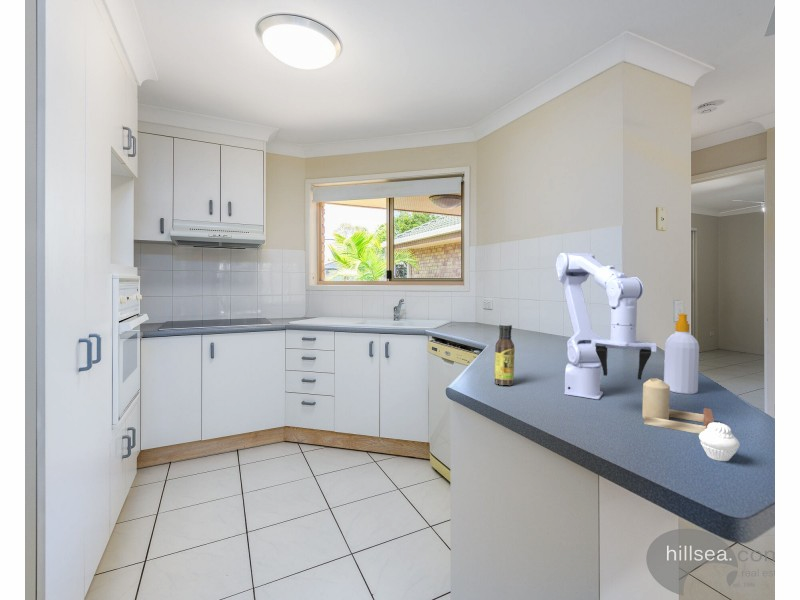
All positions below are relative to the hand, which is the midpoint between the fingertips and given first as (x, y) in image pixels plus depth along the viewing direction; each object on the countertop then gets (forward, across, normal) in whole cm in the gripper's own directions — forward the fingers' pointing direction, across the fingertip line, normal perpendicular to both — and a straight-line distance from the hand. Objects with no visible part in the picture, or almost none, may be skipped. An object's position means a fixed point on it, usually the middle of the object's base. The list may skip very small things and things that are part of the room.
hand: (622, 376), depth 102 cm
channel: (+9, +12, -2) cm, 15 cm away
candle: (+10, +7, -1) cm, 12 cm away
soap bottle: (+10, +15, +33) cm, 38 cm away
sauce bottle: (+10, -34, +12) cm, 38 cm away
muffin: (+10, +17, -20) cm, 28 cm away
